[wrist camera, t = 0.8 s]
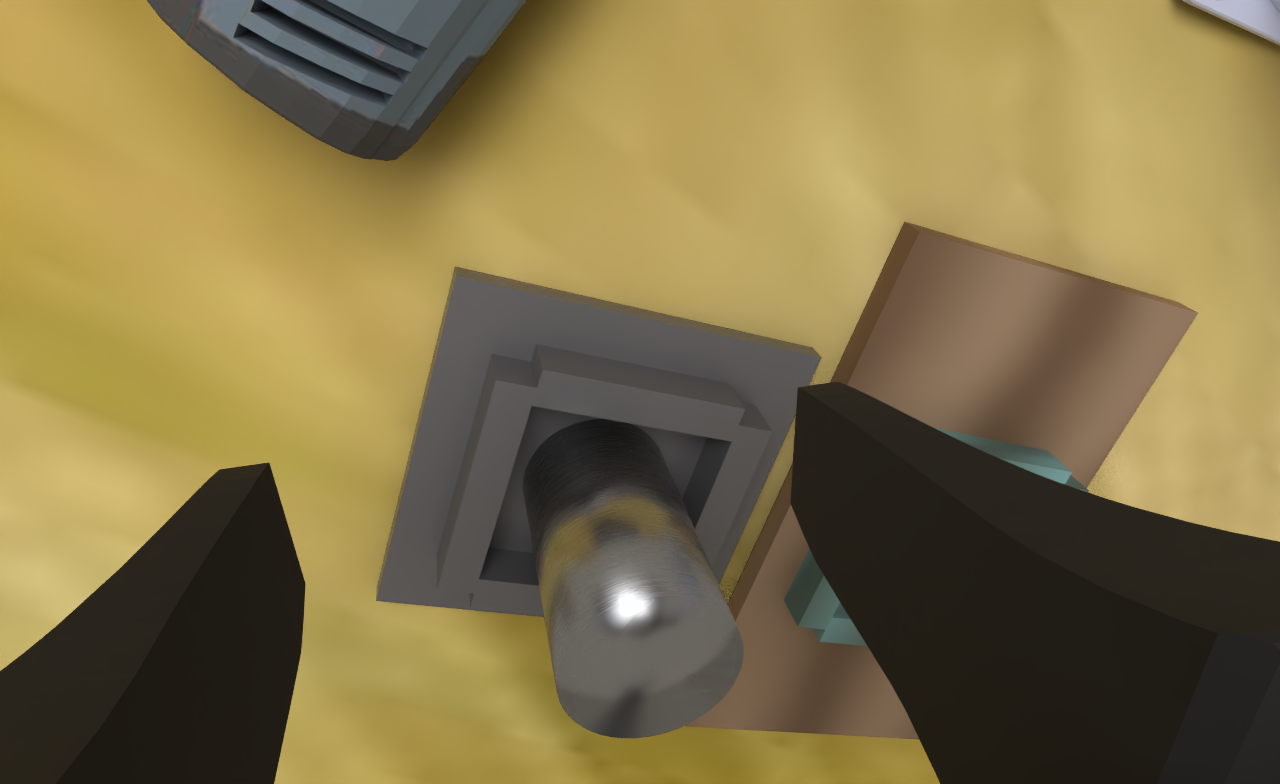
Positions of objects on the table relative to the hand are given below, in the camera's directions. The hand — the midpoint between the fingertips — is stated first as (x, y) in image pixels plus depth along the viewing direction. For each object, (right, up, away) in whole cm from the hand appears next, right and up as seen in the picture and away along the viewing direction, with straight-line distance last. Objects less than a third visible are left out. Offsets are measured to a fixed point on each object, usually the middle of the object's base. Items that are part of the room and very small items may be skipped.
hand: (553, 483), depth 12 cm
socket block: (0, -1, +13) cm, 13 cm away
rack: (+10, -3, +16) cm, 19 cm away
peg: (0, -1, +12) cm, 12 cm away
